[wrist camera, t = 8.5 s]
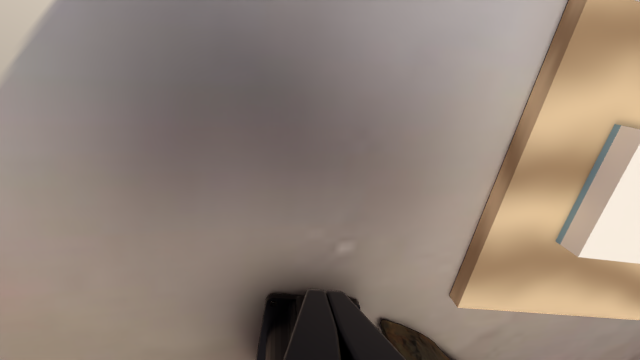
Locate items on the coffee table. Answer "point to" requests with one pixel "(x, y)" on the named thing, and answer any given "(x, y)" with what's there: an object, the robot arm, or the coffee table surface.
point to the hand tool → (411, 343)
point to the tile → (608, 203)
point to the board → (560, 175)
